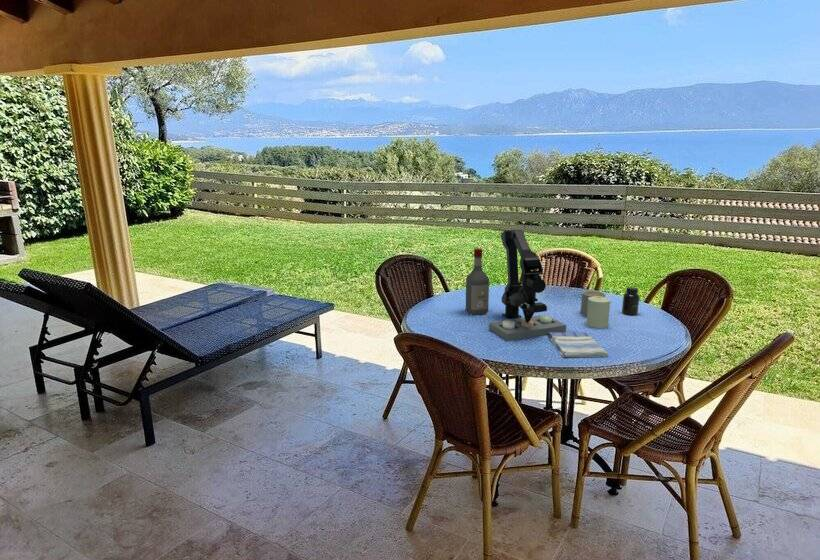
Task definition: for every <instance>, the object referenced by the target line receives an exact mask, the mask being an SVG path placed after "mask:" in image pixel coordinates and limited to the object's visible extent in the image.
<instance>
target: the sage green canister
mask: <svg viewBox="0 0 820 560" xmlns="http://www.w3.org/2000/svg"><path fill="white" fill-rule="evenodd" d="M611 301H612V300H611V298H609V297H606V296H605V297H601V296H592V297H589V298H588V311H587V317H586V322H585V324H586V326H588V327H590V328H593V329H594V328H595V329H606V328H608V327H609V325H610V324H609V319H610V309H611Z"/></svg>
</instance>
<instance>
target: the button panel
mask: <svg viewBox="0 0 820 560" xmlns="http://www.w3.org/2000/svg"><path fill="white" fill-rule="evenodd" d="M542 315H543V314H541V315H533V316H532V318H531V320H530V321H532V322H534V324H533V326H529V327H524V326H522V325H521V322H522V321H524V320H525V317H518V318H511V319H505V320H504V319H503V320H498V321H490V322H488V330H489V329H490V330H489V331H491V332H492V331H493V333H494V334H495V333H496V334H495V335H497V336H498V335H499V336H498V337H500V338H502V339H503V340H505V341H506V342H510V341H517V340H522V339H530V338H536V337H542V336H548V332H554V333H562V332H567V324H566V323H563V322H561V321H560V320H557V319H555V318H553V317H552V323H549V324H542V323H540V316H542ZM507 320H508V321H514V322H515V329H509V330H505V329H504V328H502V326H503V321H507Z"/></svg>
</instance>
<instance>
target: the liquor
mask: <svg viewBox="0 0 820 560" xmlns="http://www.w3.org/2000/svg"><path fill="white" fill-rule="evenodd" d="M473 258H474V259H473V268H472V269H473V270H472V271H471V272H470V273H469V274H468V275H467V276H466V279H465V312H466V311H467V312H468V313H467V312H466V313H467V314H469V313H470V314H469V315H471V314H472V315H471V316H475V315H478V316H482V315H481V314H485V315H486V313H487V314H488V312H489V304H490V303H489V297H490V295H489V294H490V278H489V276H488V275H487V274H486V272H485V271H484V270H483V267H482V266H483V263H482V262H483V248H474V249H473Z"/></svg>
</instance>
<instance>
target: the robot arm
mask: <svg viewBox="0 0 820 560" xmlns="http://www.w3.org/2000/svg"><path fill="white" fill-rule="evenodd" d="M500 239H501V243H502V245H503V248H505V250H506V266H507V268H506V269H507V284H506V285H505V287H504V292H503V294H502V296H501V303H502V304H503V305H504V306H505V307H504V308H505V309H504V311H505V312H504V313H501V314H502V316H503V317H505V318H507V319H508V320H511V319H518V318H522V315H520V314H519V313H520V312H519V311H520V309H521V310H522V313H523V318H525V321H526V322H527V323H528V322H529V321H530V320H531V318H532V316H534V314H535V313H543V312H547V311H548V305H546V303H543V302H541V301H539V302H538V300H539V299H538V298H536V297H537V294H538V293H539V294H540V293H542V292H544V291H545V289H546V287H547V286H546V285H547V284H546V281H545V280H544V279H543V278H542V275H543V274H544V268H543V265H542V261H541V259H540V258H539V256H538V255H537V253H536V252H534V251H532V249H531V247H530V245H529V243H528V240H527V238H526V236H525V231H524V230H523V229H504V230H503V232H501V234H500ZM518 253H519V256H520V260H519V263H518ZM519 267H520V269H521V274H522V275H521V276H522V278H521V283H520V280H519V278H520V277H519Z"/></svg>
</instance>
